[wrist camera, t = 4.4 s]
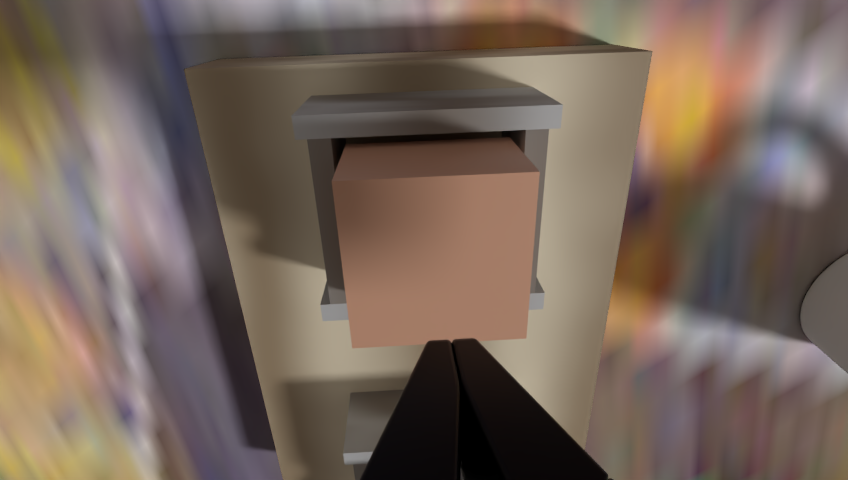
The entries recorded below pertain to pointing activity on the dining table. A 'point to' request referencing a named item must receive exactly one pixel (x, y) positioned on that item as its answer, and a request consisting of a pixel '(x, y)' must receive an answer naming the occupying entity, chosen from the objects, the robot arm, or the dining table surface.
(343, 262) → the salmon brown square block
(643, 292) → the dining table surface
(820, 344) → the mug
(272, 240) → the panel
